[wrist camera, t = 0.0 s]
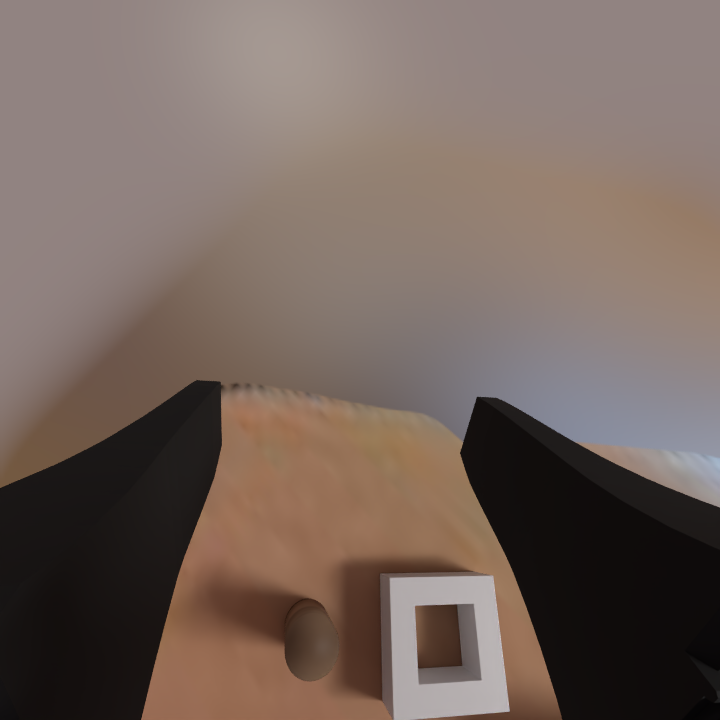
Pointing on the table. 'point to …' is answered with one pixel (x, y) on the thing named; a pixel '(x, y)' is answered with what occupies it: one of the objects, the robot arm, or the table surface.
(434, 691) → the hole block
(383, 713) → the table surface
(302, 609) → the brown rounded cylinder
